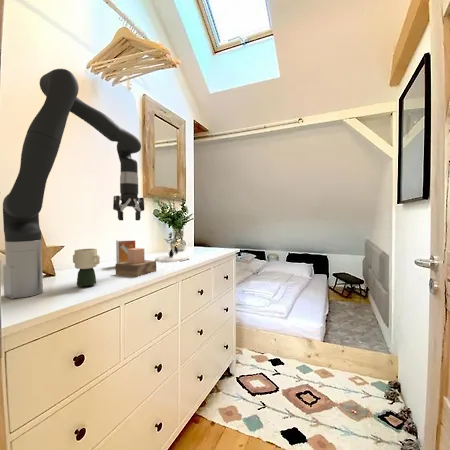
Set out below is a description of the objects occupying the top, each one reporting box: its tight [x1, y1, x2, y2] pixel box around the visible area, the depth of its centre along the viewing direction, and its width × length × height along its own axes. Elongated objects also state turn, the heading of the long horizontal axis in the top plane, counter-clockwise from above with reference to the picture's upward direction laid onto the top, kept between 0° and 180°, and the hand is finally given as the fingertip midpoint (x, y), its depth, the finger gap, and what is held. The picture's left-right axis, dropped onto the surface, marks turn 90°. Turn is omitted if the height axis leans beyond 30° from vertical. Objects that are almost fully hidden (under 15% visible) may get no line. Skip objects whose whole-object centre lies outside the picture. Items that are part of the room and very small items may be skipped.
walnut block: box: [115, 259, 157, 278], centre depth 115 cm, size 12×12×5 cm
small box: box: [115, 239, 136, 264], centre depth 132 cm, size 8×6×13 cm
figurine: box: [154, 232, 190, 263], centre depth 150 cm, size 20×18×16 cm
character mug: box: [72, 248, 101, 287], centre depth 93 cm, size 11×7×13 cm, turn 77°
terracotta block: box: [128, 247, 146, 264], centre depth 115 cm, size 5×5×6 cm
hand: (129, 220), depth 115 cm, fingers open, 8 cm apart
